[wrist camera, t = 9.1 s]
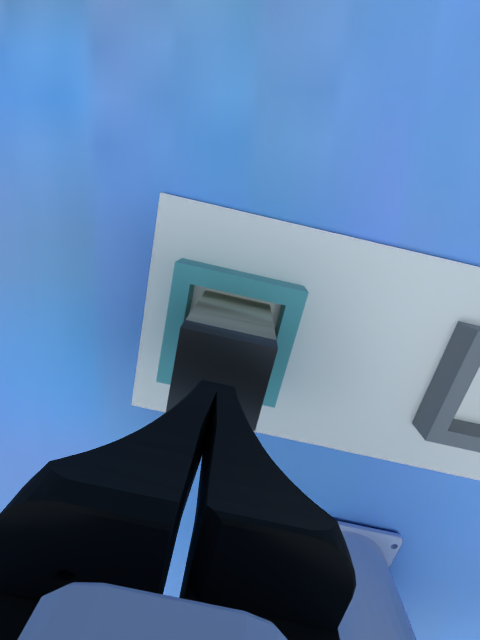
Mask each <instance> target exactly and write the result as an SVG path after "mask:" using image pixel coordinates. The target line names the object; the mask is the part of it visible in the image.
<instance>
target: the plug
mask: <svg viewBox="0 0 480 640" xmlns="http://www.w3.org/2000/svg"><path fill="white" fill-rule="evenodd" d="M277 351H278V346H277V341H276V335H275V329H274V324H273V318H272V313H271V307H270V304H265V303H261V302H256V301H252V300H247V299H243V298H239V297H234V296H230V295H225V294H221V293H217V292H212V291H208V290H206V291H205V292H204V293H203V295H202V296H201V298H200V299H199V301H198V302H197V304H196V305H195V307H194V308H193V310H192V311H191V312H190V314H189V315H188V317H187V318H186V320H185V321H184V323H183V324H182V326H181V327H180V332H179V338H178V344H177V349H176V355H175V361H174V367H173V372H172V378H171V384H170V390H169V396H168V401H167V407H166V412H167V411H169V410H170V409H171V408H172V407H174V406H175V405H176V404H177V403H178V402H180V401H181V400H182V399H183V398H184V397H185V396H186V395H187V394H188V393H189V392H190V391H191V390H192V389H193V388H194V387H195V386H196V385H197V383H198V382H199V381H201V380H205V381H210V382H215V383H219V384H224V385H228V386H233V387H235V388H236V390H237V394H238V397H239V400H240V403H241V406H242V408H243V411H244V413H245V415H246V417H247V419H248V422H249V424H250V426H251V428H252V430H253V431H255V430H256V426H257V422H258V419H259V415H260V412H261V408H262V405H263V401H264V397H265V394H266V390H267V387H268V383H269V380H270V376H271V372H272V369H273V365H274V362H275V358H276V355H277Z"/></svg>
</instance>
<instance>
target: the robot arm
mask: <svg viewBox="0 0 480 640" xmlns="http://www.w3.org/2000/svg"><path fill="white" fill-rule="evenodd" d="M201 457H202V463H201V471H200V480H199V489H198V498H197V507H196V515H195V522H194V528H193V533H192V538H191V543H190V548H189V552H188V557H187V562H186V567H185V572H184V577H183V582H182V587H181V592H180V597H179V598H177V597H172V596H167V595H163V592H164V587H165V583H166V579H167V575H168V571H169V567H170V562H171V558H172V554H173V550H174V546H175V541H176V537H177V533H178V529H179V525H180V521H181V518H182V514H183V511H184V508H185V505H186V502H187V499H188V496H189V493H190V490H191V487H192V484H193V481H194V478H195V475H196V472H197V469H198V466H199V463H200V460H201ZM402 542H403V540H402V538H401V536H400V535H399V534H397V533H393V532H388V531H383V530H379V529H374V528H369V527H364V526H360V525H355V524H350V523H345V522H341V521H337V520H335V519H334V518H333V517H332V516H330V515H329V514H328V513H327V512H325V511H324V510H323V509H322V508H320V507H319V506H318V505H317V504H315V503H314V502H313V501H312V500H311V499H309V498H308V497H307V496H306V495H305V494H304V493H303V492H302V491H301V490H300V489H299V488H298V487H297V486H295V485H294V484H293V483H292V482H291V480H290V479H289V478H288V477H287V476H286V475H285V474H284V473H283V472H282V471H281V470H280V468H279V467H278V466H277V465H276V464H275V463H274V461H273V460H272V459H271V458H270V456H269V455H268V454H267V452H266V451H265V449H264V448H263V446H262V445H261V443H260V442H259V440H258V438H257V437H256V435H255V433H254V431H253V430H252V428H251V426H250V424H249V422H248V419H247V417H246V415H245V413H244V411H243V408H242V406H241V403H240V400H239V397H238V394H237V390H236V388H235V387H233V386H228V385H224V384H219V383H215V382H210V381H205V380H201V381H199V382H198V383H197V385H196V386H195V387H194V388H193V389H192V390H191V391H190V392H189V393H188V394H187V395H186V396H185V397H184V398H183V399H182V400H181V401H180V402H178V403H177V404H176V405H175V406H174V407H172V408H171V409H170V410H169V411H167V412H166V413H165V414H163V415H162V416H161V417H159V418H158V419H156V420H155V421H153V422H152V423H150V424H148V425H147V426H145V427H143V428H142V429H140V430H138V431H136V432H134V433H132V434H130V435H128V436H126V437H124V438H122V439H119V440H117V441H114V442H112V443H109V444H107V445H104V446H101V447H98V448H96V449H93V450H90V451H86V452H83V453H79V454H76V455H72V456H68V457H64V458H61V459H57V460H53V461H49V462H48V463H47V464H46V465H45V466H44V467H43V468H42V469H41V470H40V471H39V472H38V473H37V474H36V475H34V476H33V477H32V478H31V479H30V481H29V482H28V483H27V484H26V485H25V486H24V487H23V488H22V489H21V490H20V491H19V492H18V494H17V495H16V496H15V497H14V498H13V499H12V501H11V502H10V503H9V504H8V505H7V506H6V508H5V509H4V510H3V511H2V512H1V513H0V640H416V637H415V634H414V632H413V629H412V627H411V624H410V621H409V619H408V616H407V614H406V611H405V608H404V606H403V603H402V601H401V598H400V595H399V593H398V590H397V588H396V585H395V582H394V580H393V577H392V575H391V572H390V569H389V568H390V566H391V564H392V562H393V560H394V558H395V556H396V554H397V552H398V550H399V548H400V546H401V544H402Z"/></svg>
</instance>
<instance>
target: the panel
mask: <svg viewBox="0 0 480 640" xmlns="http://www.w3.org/2000/svg"><path fill="white" fill-rule="evenodd" d="M206 290H208V291H212V292H217V293H221V294H225V295H230V296H234V297H239V298H243V299H247V300H252V301H256V302H261V303H265V304H270V307H271V313H272V318H273V324H274V329H275V335H276V341H277V346H278V351H277V355H276V358H275V362H274V365H273V369H272V372H271V376H270V380H269V383H268V387H267V390H266V394H265V397H264V401H263V405H262V408H261V412H260V415H259V419H258V422H257V426H256V430H255V431H254V432H258V433H263V434H267V435H272V436H276V437H281V438H286V439H290V440H295V441H299V442H304V443H309V444H313V445H318V446H323V447H327V448H332V449H336V450H341V451H346V452H350V453H355V454H360V455H364V456H369V457H373V458H378V459H383V460H387V461H392V462H396V463H401V464H406V465H410V466H415V467H420V468H424V469H429V470H433V471H438V472H443V473H447V474H452V475H457V476H461V477H466V478H470V479H475V480H480V267H477V266H473V265H469V264H465V263H460V262H456V261H452V260H447V259H443V258H439V257H435V256H430V255H426V254H422V253H418V252H413V251H409V250H405V249H400V248H396V247H392V246H388V245H383V244H379V243H375V242H371V241H366V240H362V239H358V238H353V237H349V236H345V235H341V234H336V233H332V232H328V231H324V230H319V229H315V228H311V227H306V226H302V225H298V224H294V223H289V222H285V221H281V220H276V219H272V218H268V217H264V216H259V215H255V214H251V213H247V212H242V211H238V210H234V209H229V208H225V207H221V206H217V205H212V204H208V203H204V202H200V201H195V200H191V199H187V198H182V197H178V196H174V195H170V194H165V193H161V192H160V197H159V205H158V212H157V220H156V227H155V234H154V242H153V249H152V257H151V264H150V272H149V279H148V286H147V294H146V301H145V309H144V316H143V324H142V331H141V338H140V346H139V353H138V361H137V368H136V375H135V383H134V390H133V398H132V405H133V406H138V407H142V408H147V409H152V410H156V411H161V412H165V413H166V407H167V401H168V396H169V390H170V384H171V378H172V372H173V367H174V361H175V355H176V349H177V344H178V338H179V332H180V327H181V326H182V324H183V323H184V321H185V320H186V318H187V317H188V315H189V314H190V312H191V311H192V310H193V308H194V307H195V305H196V304H197V302H198V301H199V299H200V298H201V296H202V295H203V293H204V292H205V291H206Z"/></svg>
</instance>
